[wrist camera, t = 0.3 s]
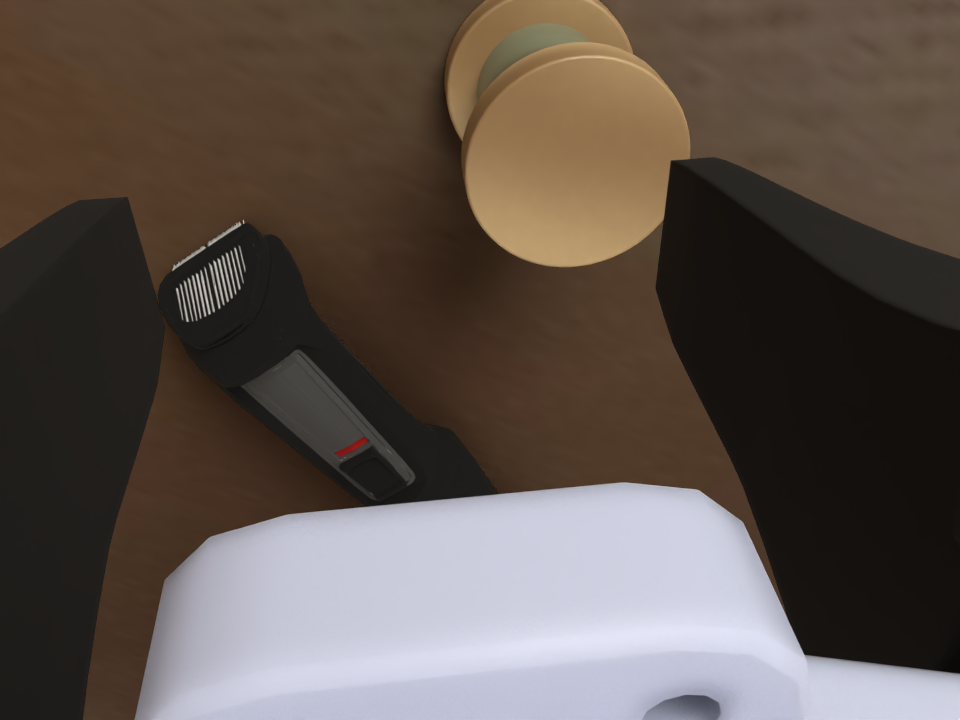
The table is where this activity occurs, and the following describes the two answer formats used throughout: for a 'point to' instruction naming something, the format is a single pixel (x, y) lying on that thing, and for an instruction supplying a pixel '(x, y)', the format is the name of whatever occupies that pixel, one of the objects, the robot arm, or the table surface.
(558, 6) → the wooden spool
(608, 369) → the table surface
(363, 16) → the table surface
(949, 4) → the table surface
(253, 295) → the electric trimmer
